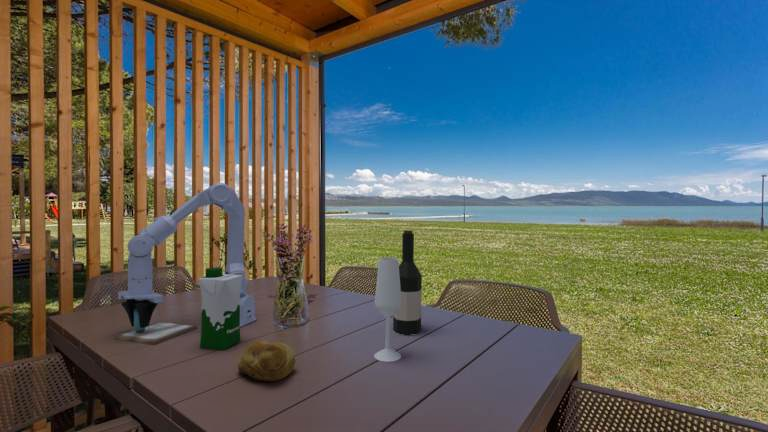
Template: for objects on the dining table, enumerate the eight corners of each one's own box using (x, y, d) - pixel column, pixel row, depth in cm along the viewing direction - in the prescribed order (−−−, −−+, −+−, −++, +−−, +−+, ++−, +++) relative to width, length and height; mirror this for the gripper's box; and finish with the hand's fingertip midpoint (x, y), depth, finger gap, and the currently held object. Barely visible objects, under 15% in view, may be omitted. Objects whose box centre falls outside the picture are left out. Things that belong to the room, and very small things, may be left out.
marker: (148, 330, 102) (148, 307, 101) (139, 333, 99) (138, 310, 99) (141, 329, 102) (140, 306, 102) (131, 332, 100) (131, 309, 100)
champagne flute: (405, 354, 89) (407, 258, 89) (392, 363, 84) (393, 261, 83) (382, 348, 93) (383, 256, 93) (368, 357, 87) (369, 259, 87)
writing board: (196, 328, 107) (196, 325, 107) (154, 344, 94) (154, 341, 94) (161, 323, 111) (161, 320, 111) (115, 338, 98) (115, 335, 98)
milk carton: (216, 337, 100) (217, 265, 100) (245, 340, 98) (246, 267, 98) (194, 349, 91) (194, 270, 91) (225, 352, 90) (226, 272, 89)
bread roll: (226, 377, 76) (226, 339, 76) (260, 360, 85) (260, 326, 85) (273, 390, 71) (273, 349, 71) (304, 370, 80) (304, 335, 80)
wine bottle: (420, 327, 111) (422, 230, 111) (421, 336, 103) (422, 231, 102) (394, 325, 112) (395, 229, 112) (392, 334, 104) (393, 231, 103)
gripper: (107, 278, 99) (106, 327, 99) (146, 282, 95) (146, 333, 95) (131, 274, 106) (131, 320, 106) (169, 277, 101) (169, 325, 101)
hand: (140, 326), depth 101 cm, fingers closed on marker, 3 cm apart
